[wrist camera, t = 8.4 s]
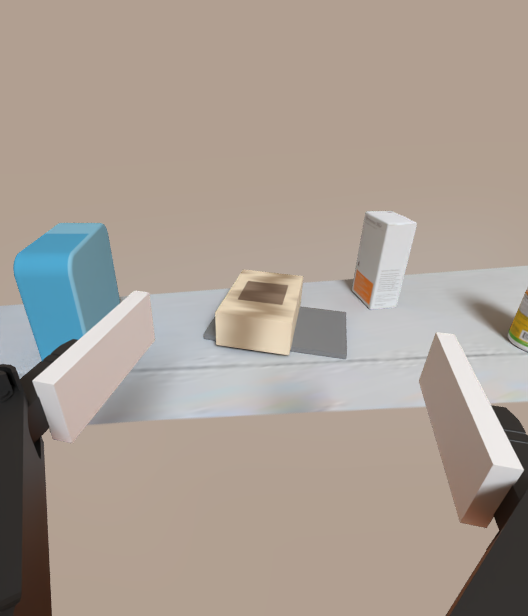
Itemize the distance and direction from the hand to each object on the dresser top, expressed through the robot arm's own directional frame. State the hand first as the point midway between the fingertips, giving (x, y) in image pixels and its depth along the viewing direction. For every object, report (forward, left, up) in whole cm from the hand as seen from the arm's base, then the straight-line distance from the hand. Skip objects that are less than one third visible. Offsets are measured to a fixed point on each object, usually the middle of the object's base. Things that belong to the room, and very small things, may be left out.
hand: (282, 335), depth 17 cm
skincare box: (+9, +34, -14) cm, 38 cm away
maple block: (-5, +17, -11) cm, 21 cm away
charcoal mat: (-3, +23, -14) cm, 27 cm away
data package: (-23, +15, -14) cm, 31 cm away
